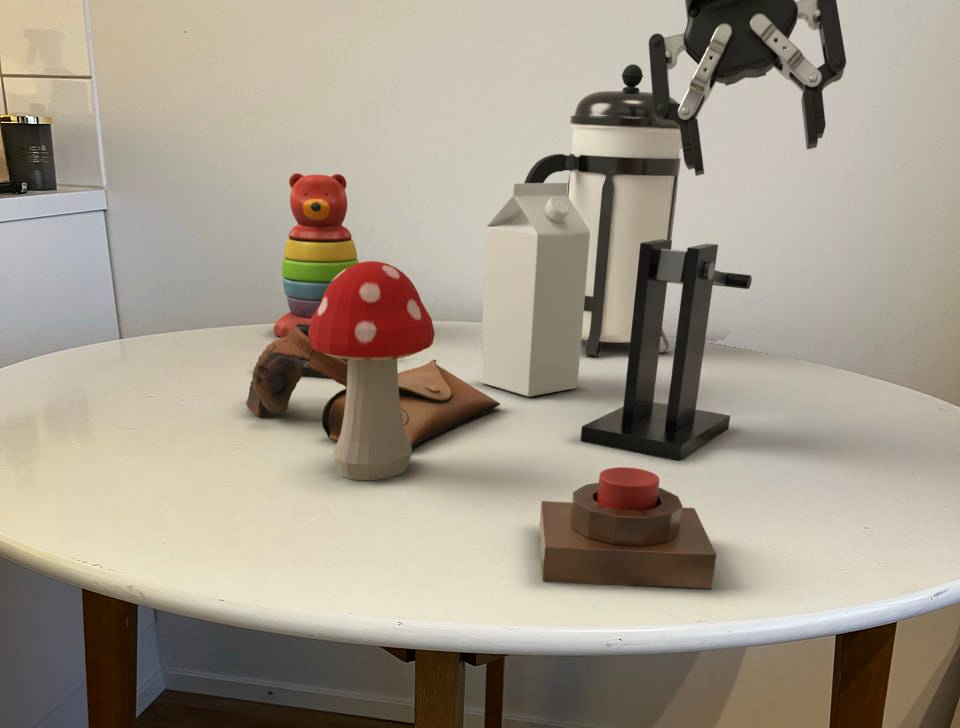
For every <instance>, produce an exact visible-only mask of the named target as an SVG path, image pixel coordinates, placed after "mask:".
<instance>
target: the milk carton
mask: <svg viewBox="0 0 960 728" xmlns="http://www.w3.org/2000/svg"><path fill="white" fill-rule="evenodd" d="M567 195H568V182H544V183H523V182H522V183H520V182H519V183H517V182H516V183H515V182H514V183H513V184H512V196H511V197H510V199H509V200H508V201H507V202H506V203H505V204H504V205H503V206H502V208H501V209H500V210H499V211H498V212H497V214H496V215H495V216H494V217H493V218H492V219H491V221H489V222H488V224H487V225H486V231H485V251H484V252H485V255H484V280H483V281H484V282H483V306H482V328H481V329H482V331H481V354H480V357H481V358H480V383H481V384H485V385H487V386H491V387H495V388H498V389H500V390H503V391H504V390H505V391H508V392H510V393H515V394H517V395H521V396H525V397H529V398H530V397H535V396H540V395H546V394H551V393H555V392H562V391H567V390H573V389H576V388H578V383H579V373H580V360H581V347H582V339H581V337H582V325H583V313H584V301H585V289H586V277H587V265H588V253H589V241H590V230H589V228H588V227H587V225H586V224H585V222H584V221H583V219H582V218H581V216H580V215H579V213H578V211H577V210H576V208H575V207H574V205H573V204H572V202H571V201H570V199H569V198H568V196H567Z"/></svg>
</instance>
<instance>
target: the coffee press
mask: <svg viewBox="0 0 960 728" xmlns="http://www.w3.org/2000/svg"><path fill="white" fill-rule="evenodd" d="M643 77H644V75H643V70H642V68H641V67H640V66H639V65H638V64H633V63H632V64H628V65H627V66H625V68H624V69H623V71H622V74H621V78H622V83H623V84H624V85H625V87H623V88H622V90H605V91H596V92H593V93H590V94H588V95H586V96H584V97H583V98H581V100H580V101H579V102H578V104H577V105H576V108H575V111H574V114H573V115H570V121H569V123H570V127H571V128H572V141H571V152H569V155H568V154H567V155H566V154H564V153H556V154H555V153H554V154H551V155H547V156H545V157H543V158H541V159H539V160H538V161H536V163H535V164H534V165H533V166H532V167H531V169H530V170H529V172H528V173H527V175H526V178H525V180H524V183H545V181H546V180H547V179H548V177H550V176H551V175H553V174H554V173H561V172H565V171H569V175H568V182H567V183H568V186H567V196H568V198H569V199H570V201H571V202H572V204H573V205H574V207H575V208H576V210H577V211H578V213H579V215H580V216H581V218H582V219H583V221H584V222H585V224H586V225H587V227H588V228H589V230H590V241H589V253H588V265H587V277H586V289H585V301H584V313H583V325H582V337H581V340H586V341H587V342H586V346H585V356H586V357H588V356H589V357H595V358H598V357H599V356H600V354H601V349H602V346H603V345H604V344H605V343H630V339H631V329H632V320H633V310H634V301H635V291H636V281H637V272H638V262H639V252H640V243H643V242H649V241H654V240H660V239H665V240H672V239H673V231H674V230H673V229H674V221H675V213H676V212H675V211H676V204H677V197H678V196H677V195H678V185H679V176H680V170H681V169H680V168H681V162H682V161H681V160H682V157H680V151H681V149H682V150H683V147H682V140H681V132H680V129H679V128H678V127H677V126H675V125H669V124H666V125H660V124H658V123H657V121H656V117H655V114H654V109H653V96H652V92H647V91H640V88H639V87H637V86H639V84H640V83H641V82H642V80H643ZM670 103H677V104H680V103H679V102H678V101H677V100H676V99H675V98H673V97H672V96H670ZM661 340H662V341H663V342H664V344H665V349H661V348H659V354H663V353H665V352H667V351H668V349H669V348H670V342H669V339H668V338H667V336H666V334H665V331H664V328H662V331H661Z"/></svg>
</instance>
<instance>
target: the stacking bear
mask: <svg viewBox="0 0 960 728" xmlns="http://www.w3.org/2000/svg"><path fill="white" fill-rule="evenodd" d="M288 181H289V182H288V185H289V186H290V190H291V191H290V196H289V203H290V209H291V213H292V216H293V218H294V219H295V221H296V223H297V225H295V226H294V227H292V228H291V230H289V233H288V238H287V239H286V240H285V245H284V253H283V257H284V258H283V260H282V266H281V271H282V272H281V275H282V277H283V278H282V285H283V290H284V295H286V301H287V305H288V308H289V312H287V313H286V314H284V315H282V316H280V318H279V319H277V320H276V321H275V323H274V325H273V334H274V336H277V337H280V338H283V337H286V336H288V334H289V332H290V330H291V328H292V326H297V324H304V325H310V323H311V318H312V316H313V315H314V313H315V311H316V310H317V308H318V306H319V305H320V303H321V301H322V298H323V295H324V293H325V291H326V289H327V287H328V286H329V284H330V283H331V282H332V280H333V279H334V278H335V277H336V276H337V275H338V274H339V273H340V272H342V271H343V270H345V269H346V268H348V267H350V266H352V265H355V264H357V263H360V261H359V259H358V252H357V247H356V244H355V242H354V239H353V238H352V237H353V235H352V233H351V232H350V230H349V229H348V228H347V227H345V226H344V225H343V223H344V222H345V218H346V214H347V211H348V197H347V193H346V188H347V180H346V178H345V177H344V176H343V175H342V174H340V173H335V174H333V175H326V174H307V175H303V174H302V173H299V172H296V173H293V174H292V175H291V176H290V178H289V180H288Z"/></svg>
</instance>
